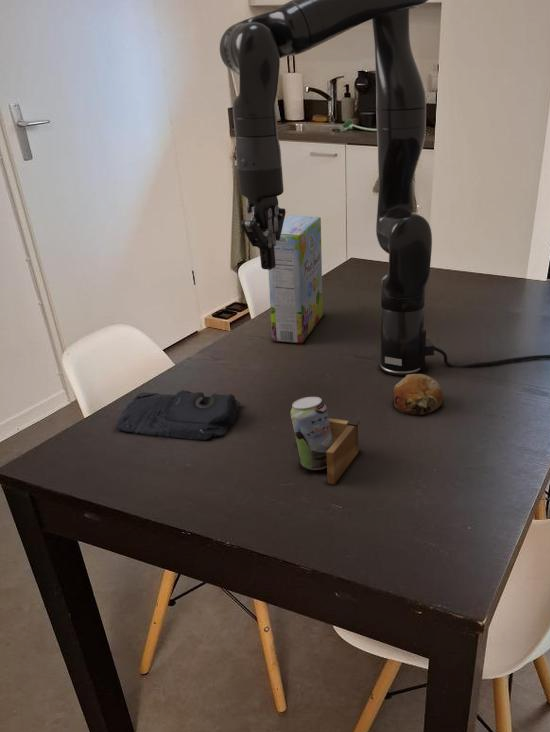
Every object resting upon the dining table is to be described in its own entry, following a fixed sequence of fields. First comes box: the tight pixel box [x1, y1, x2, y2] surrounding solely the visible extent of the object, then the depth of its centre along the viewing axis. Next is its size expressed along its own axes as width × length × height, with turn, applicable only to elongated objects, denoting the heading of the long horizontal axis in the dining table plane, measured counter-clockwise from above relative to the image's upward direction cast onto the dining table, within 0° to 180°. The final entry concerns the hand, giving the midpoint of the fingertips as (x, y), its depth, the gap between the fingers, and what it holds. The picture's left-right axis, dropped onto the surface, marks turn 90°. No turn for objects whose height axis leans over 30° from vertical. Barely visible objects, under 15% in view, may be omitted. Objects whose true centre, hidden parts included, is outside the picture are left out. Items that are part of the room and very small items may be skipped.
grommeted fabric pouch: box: [114, 390, 241, 441], centre depth 133 cm, size 15×22×5 cm
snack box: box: [267, 214, 324, 344], centre depth 170 cm, size 22×9×26 cm, turn 170°
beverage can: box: [290, 396, 333, 471], centre depth 116 cm, size 6×7×12 cm
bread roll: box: [392, 373, 443, 416], centre depth 137 cm, size 10×10×8 cm
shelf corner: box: [326, 417, 361, 485], centre depth 118 cm, size 12×12×6 cm
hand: (268, 268), depth 126 cm, fingers closed
